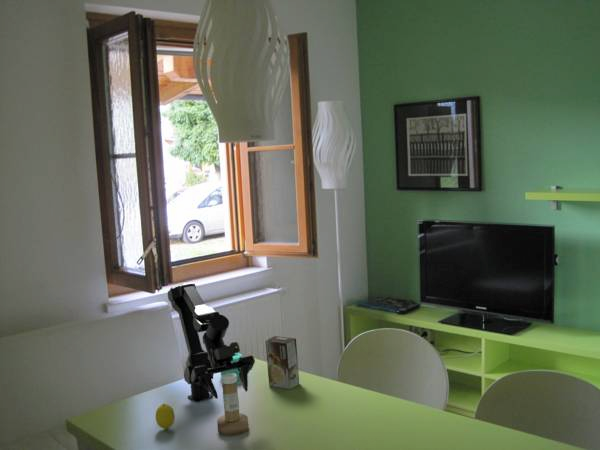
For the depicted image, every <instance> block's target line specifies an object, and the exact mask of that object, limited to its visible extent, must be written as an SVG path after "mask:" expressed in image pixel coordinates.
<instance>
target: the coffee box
mask: <svg viewBox="0 0 600 450" xmlns="http://www.w3.org/2000/svg"><path fill="white" fill-rule="evenodd" d="M264 344H265V353H266V363H267V366H266V367H267V374H268V375H267V376H268V377H267V378H268V386H269V387H273V388H280V389H285V390H292V389H293V388H295V387H297V386H298V385H299V384H300V374H299V373H300V372H299V361H298V349H297V348H298V347H297V339H296V337H295V338H294V337H287V336H286V337H285V336H278V335H277V336H276V335H274V336H272V337H270V338H268V339H267V340H265V343H264Z"/></svg>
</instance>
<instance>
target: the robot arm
mask: <svg viewBox="0 0 600 450" xmlns="http://www.w3.org/2000/svg"><path fill="white" fill-rule="evenodd" d="M167 299H168V302H170V305H171V307H172V308H173V309H174V311H176V313H177V314H178V316H179V321H180V325H181V328H182V332H183V337H184V340H185V341H184V342H185V344H186V348H187V353H188V356H187V359H186V362H185V369H184V372H183V378H184V381H185V382H186V383H187V384H188V385H190V392H191V393H190V395H187V399H190V400H191V401H193V402H195V403H199V402H203V401H206V400H208V399H212V398H215V399H218V398H219V395H218V393H217V389H216V387H215V385H214V382H213V379H214V374H219V373H220V374H221V372H224V371H228V370H233V369H237V368H238V371H239V372H240V373H239V376H240V381H241V384H242V388H243V389H244V391H245V392H246V393H247V392H248V390H249V389H248V388H249V387H248V384H249V383H248V381H249V379H248V378H249V377H248V374H249V373H250V371H252V370H253V368H254V365H255V363H256V360H255V357H254V356H253V355H251V354H247V355H242V356H241V357H240V358H239V360H238V362H234V363H231V361H232V360H233V356H235V353H240V351H241V349H240V345H239V343H238V341H233V342H231V343H229V345H227V344H225V342H224V338H225V336H226V334H227V332H228V331H227V330H228V328H229V325H230V320H229V318H227V317H226V316H225V315H223V314H220V311H215V309H214V308H213V307H210V306H208V305H207V304H206V303H205V301H204V300H203V298H202V297H201V295H200V293H199V291H198V289H197V286H196V284H195V282H187V283H186V282H185V283H181V284H179V285H178V286H173V287H172V286H171V288H170V289H169V290H168V291H167ZM199 333H203V336H202V343H201V340H200V336H199ZM202 344H203V345H204V347H205V350H206V351H205V350H204V349H203V347H202Z"/></svg>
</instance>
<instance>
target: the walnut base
mask: <svg viewBox="0 0 600 450" xmlns="http://www.w3.org/2000/svg"><path fill="white" fill-rule="evenodd" d="M239 415H240V419H239V420H237V421H234V422H228V421H226V420H225V414H224V415H221V416H219V418H217V420H216V422H217V433H218V432H219V433H218V434H220V435H221V436H223V437H224V436H225V437H234V436H235V437H236V436H239V435H242V434H244V433H246V432H247V431H248V430H249V417H248V416H247V414H245V413H240V412H239Z"/></svg>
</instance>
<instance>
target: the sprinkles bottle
mask: <svg viewBox="0 0 600 450" xmlns="http://www.w3.org/2000/svg"><path fill="white" fill-rule="evenodd" d="M220 379H221V380H220V381H221V384H222V386H221V387H222V399H223V409H224V415H225V420H226V421H228V422H234V421H237V420H239V419H240V415H239V413H240V402H239V394H238V380H237V375H236V374H235V373H227V374H224V375H222V376H221V375H220Z"/></svg>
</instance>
